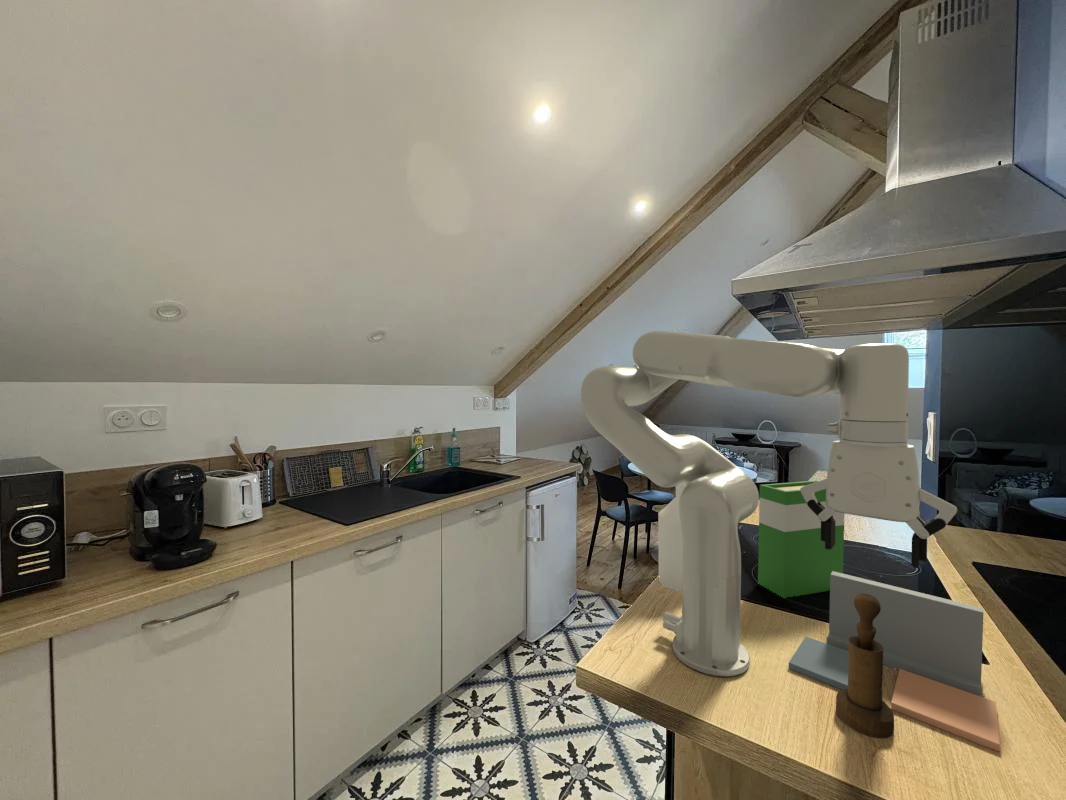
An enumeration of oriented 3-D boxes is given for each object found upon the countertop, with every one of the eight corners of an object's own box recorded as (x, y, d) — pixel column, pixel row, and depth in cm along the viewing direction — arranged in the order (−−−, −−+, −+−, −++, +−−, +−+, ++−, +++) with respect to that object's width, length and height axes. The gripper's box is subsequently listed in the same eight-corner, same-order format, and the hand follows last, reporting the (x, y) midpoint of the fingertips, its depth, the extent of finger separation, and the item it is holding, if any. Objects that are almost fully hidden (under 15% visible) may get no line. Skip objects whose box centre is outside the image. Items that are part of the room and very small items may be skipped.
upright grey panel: (826, 644, 82) (828, 577, 81) (833, 632, 86) (835, 568, 86) (981, 698, 68) (983, 617, 67) (980, 679, 72) (982, 603, 72)
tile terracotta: (891, 709, 65) (891, 702, 65) (899, 674, 73) (899, 668, 73) (999, 752, 58) (999, 744, 58) (995, 708, 66) (995, 701, 66)
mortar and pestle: (829, 718, 64) (832, 593, 63) (842, 697, 68) (845, 580, 67) (888, 746, 59) (892, 611, 58) (898, 722, 63) (902, 596, 62)
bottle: (684, 597, 100) (686, 486, 99) (647, 577, 110) (648, 477, 110) (720, 586, 106) (721, 481, 105) (681, 568, 116) (682, 472, 115)
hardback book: (814, 575, 112) (816, 480, 111) (842, 588, 105) (845, 486, 104) (757, 584, 107) (759, 484, 106) (783, 598, 100) (785, 491, 99)
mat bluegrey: (788, 668, 75) (788, 662, 75) (805, 641, 83) (805, 636, 83) (869, 700, 67) (870, 694, 67) (880, 667, 75) (880, 662, 75)
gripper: (794, 431, 65) (793, 547, 66) (957, 440, 53) (955, 582, 54) (808, 428, 71) (806, 535, 71) (958, 435, 59) (956, 564, 59)
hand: (870, 555), depth 62 cm, fingers open, 9 cm apart
